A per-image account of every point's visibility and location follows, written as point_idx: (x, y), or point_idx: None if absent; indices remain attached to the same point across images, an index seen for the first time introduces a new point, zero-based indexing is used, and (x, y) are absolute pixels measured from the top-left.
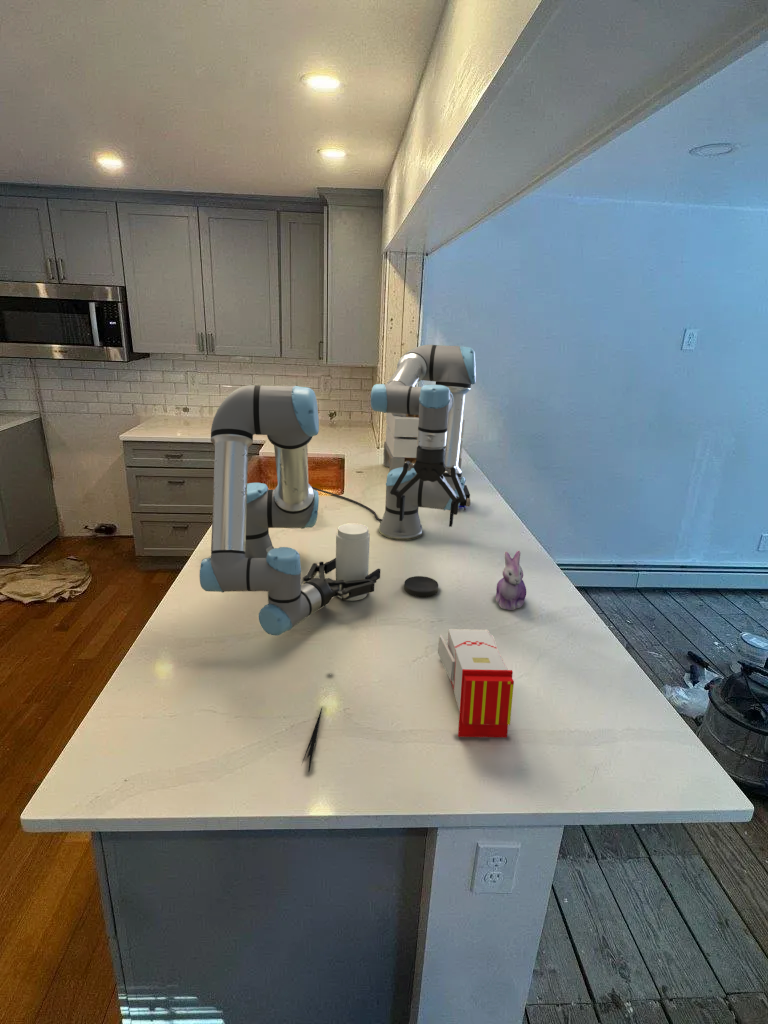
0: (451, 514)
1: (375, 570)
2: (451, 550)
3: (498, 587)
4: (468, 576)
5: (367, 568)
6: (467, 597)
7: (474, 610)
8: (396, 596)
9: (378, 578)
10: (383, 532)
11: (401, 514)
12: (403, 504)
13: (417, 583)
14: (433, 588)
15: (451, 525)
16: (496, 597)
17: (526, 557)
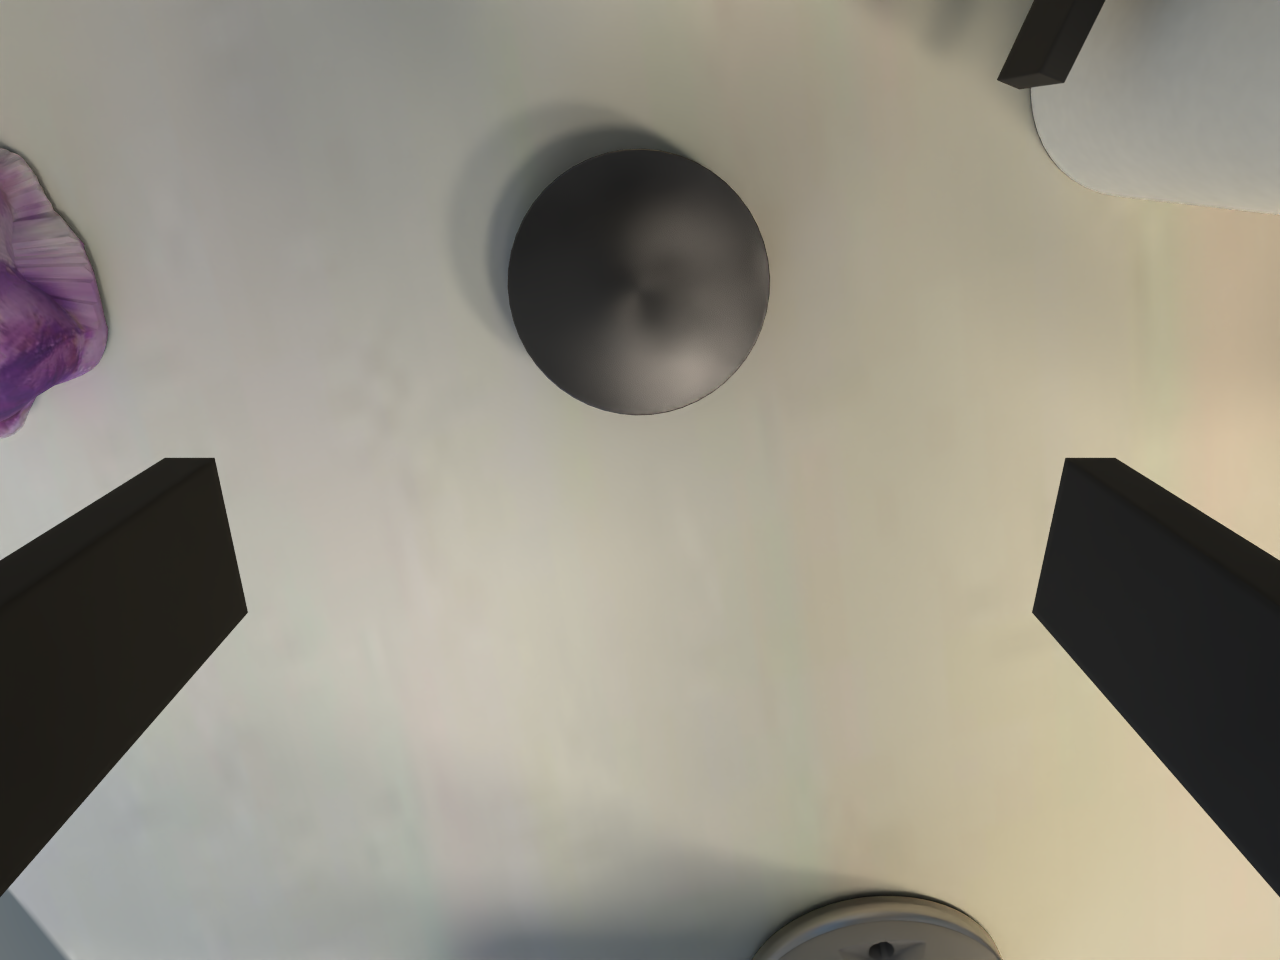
0: (14, 568)
1: (1092, 17)
2: (538, 855)
3: (17, 295)
4: (364, 566)
5: (1189, 6)
6: (297, 262)
7: (196, 65)
8: (802, 113)
9: (1014, 47)
10: (981, 940)
11: (1157, 511)
12: (1267, 693)
13: (668, 286)
14: (535, 237)
15: (156, 466)
16: (73, 267)
17: (100, 881)
